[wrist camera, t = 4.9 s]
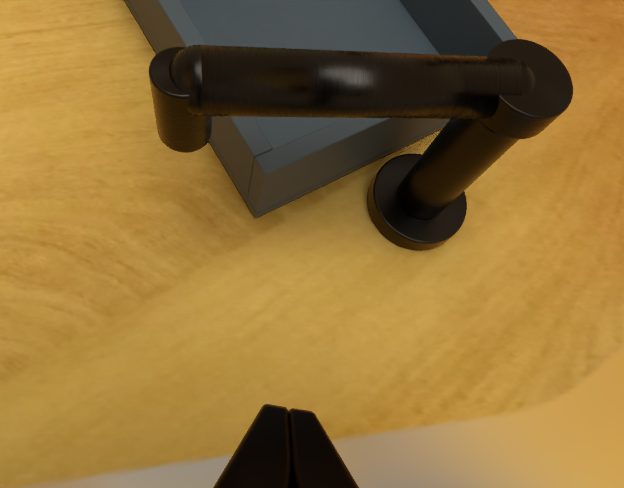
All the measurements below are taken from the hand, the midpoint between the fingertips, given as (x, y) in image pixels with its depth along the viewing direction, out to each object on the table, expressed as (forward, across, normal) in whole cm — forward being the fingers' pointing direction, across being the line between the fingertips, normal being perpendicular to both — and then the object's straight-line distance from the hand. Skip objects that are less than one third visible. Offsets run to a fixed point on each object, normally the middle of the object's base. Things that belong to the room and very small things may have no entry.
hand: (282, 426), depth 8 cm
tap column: (+16, -6, 0) cm, 17 cm away
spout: (+10, -1, -3) cm, 11 cm away
